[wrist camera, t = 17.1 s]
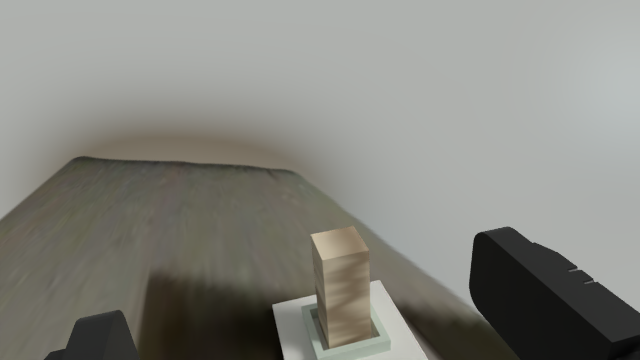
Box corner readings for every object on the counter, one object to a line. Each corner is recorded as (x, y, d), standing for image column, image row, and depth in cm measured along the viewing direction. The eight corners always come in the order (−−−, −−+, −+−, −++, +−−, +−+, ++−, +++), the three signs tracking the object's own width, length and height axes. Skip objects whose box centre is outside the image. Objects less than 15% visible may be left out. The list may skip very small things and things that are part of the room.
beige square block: (330, 353, 44) (322, 260, 39) (318, 322, 48) (310, 234, 43) (371, 342, 45) (368, 250, 40) (356, 313, 49) (353, 226, 44)
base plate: (295, 411, 39) (293, 393, 38) (273, 311, 52) (270, 295, 51) (431, 373, 42) (432, 355, 41) (379, 286, 55) (379, 270, 53)
